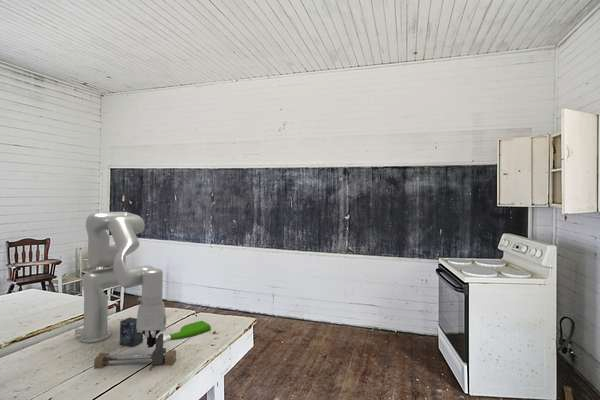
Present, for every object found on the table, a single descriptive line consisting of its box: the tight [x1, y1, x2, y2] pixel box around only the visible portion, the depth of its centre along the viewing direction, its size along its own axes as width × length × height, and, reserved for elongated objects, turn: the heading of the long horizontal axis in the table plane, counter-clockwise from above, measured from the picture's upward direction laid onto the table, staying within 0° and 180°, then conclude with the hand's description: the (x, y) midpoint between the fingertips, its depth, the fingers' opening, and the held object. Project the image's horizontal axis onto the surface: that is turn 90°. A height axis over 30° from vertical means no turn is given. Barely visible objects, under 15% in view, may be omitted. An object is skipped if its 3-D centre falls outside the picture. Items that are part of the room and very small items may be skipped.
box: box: [119, 317, 144, 348], centre depth 146 cm, size 8×6×11 cm
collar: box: [151, 332, 167, 366], centre depth 129 cm, size 4×6×10 cm, turn 7°
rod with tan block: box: [93, 349, 177, 372], centre depth 128 cm, size 29×12×4 cm, turn 97°
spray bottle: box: [156, 320, 212, 344], centre depth 157 cm, size 3×11×24 cm
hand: (151, 346), depth 128 cm, fingers closed
